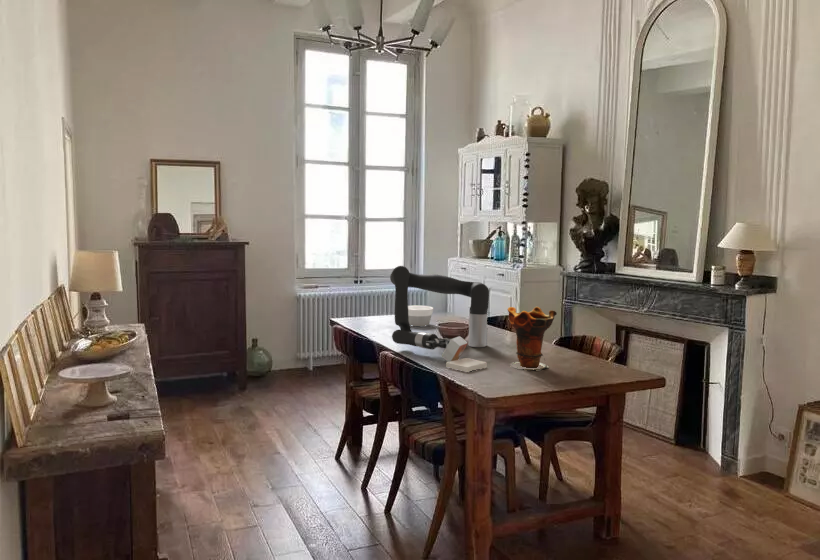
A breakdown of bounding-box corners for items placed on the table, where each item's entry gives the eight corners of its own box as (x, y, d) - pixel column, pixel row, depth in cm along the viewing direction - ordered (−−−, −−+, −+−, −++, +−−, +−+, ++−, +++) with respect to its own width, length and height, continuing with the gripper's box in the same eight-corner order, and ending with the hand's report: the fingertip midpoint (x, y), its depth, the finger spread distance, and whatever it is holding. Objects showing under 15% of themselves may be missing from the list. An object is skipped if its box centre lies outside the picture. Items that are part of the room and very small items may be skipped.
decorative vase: (563, 365, 301) (564, 305, 297) (532, 375, 286) (532, 312, 282) (527, 357, 317) (528, 300, 313) (496, 367, 302) (496, 307, 298)
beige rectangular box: (465, 363, 304) (466, 357, 304) (486, 367, 296) (486, 362, 296) (446, 367, 294) (446, 362, 294) (466, 372, 286) (467, 367, 286)
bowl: (400, 322, 412) (400, 305, 411) (430, 322, 415) (431, 305, 413) (403, 327, 393) (403, 309, 392) (435, 327, 396) (435, 310, 394)
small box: (449, 363, 303) (459, 346, 298) (440, 356, 305) (450, 338, 301) (458, 360, 309) (468, 343, 305) (449, 352, 312) (459, 335, 307)
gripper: (416, 334, 312) (441, 338, 300) (436, 331, 322) (461, 335, 311) (416, 350, 312) (441, 354, 301) (436, 346, 322) (461, 350, 311)
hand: (451, 344), depth 306 cm, fingers closed on small box, 8 cm apart
